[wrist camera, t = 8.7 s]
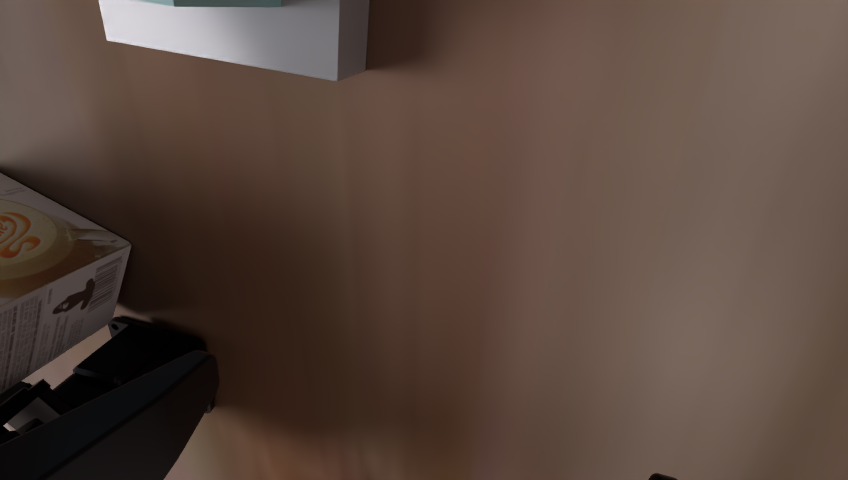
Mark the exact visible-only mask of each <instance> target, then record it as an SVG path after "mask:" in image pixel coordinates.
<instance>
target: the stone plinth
mask: <svg viewBox="0 0 848 480" xmlns="http://www.w3.org/2000/svg"><path fill="white" fill-rule="evenodd" d="M369 1H370V0H281V7H173V6H167V5H161V4H155V3H149V2H142V1H136V0H99V4H100V9H101V14H102V18H103V23H104V28H105V33H106V38H107V40H108V41H114V42H120V43H125V44H131V45H136V46H142V47H148V48H153V49H159V50H165V51H170V52H176V53H181V54H187V55H193V56H198V57H204V58H209V59H215V60H221V61H226V62H232V63H237V64H243V65H249V66H254V67H260V68H265V69H271V70H277V71H282V72H288V73H294V74H299V75H305V76H310V77H316V78H322V79H327V80H333V81H339V80H342V79H345V78H347V77H350V76H352V75H355V74H358V73H360V72H363V71H365V68H366V51H367V34H368V17H369Z"/></svg>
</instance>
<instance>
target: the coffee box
mask: <svg viewBox="0 0 848 480" xmlns="http://www.w3.org/2000/svg"><path fill="white" fill-rule="evenodd" d="M130 249H131V244H130V242H128V241H126V240H124V239H123V238H121V237H119V236H117V235H115V234H114V233H112V232H110V231H108V230H106V229H104V228H102V227H100V226H98V225H97V224H95V223H93V222H91V221H89V220H87V219H86V218H84V217H82V216H80V215H78V214H76V213H74V212H73V211H71V210H69V209H67V208H65V207H63V206H61V205H59V204H58V203H56V202H54V201H52V200H50V199H48V198H46V197H45V196H43V195H41V194H39V193H37V192H35V191H33V190H32V189H30V188H28V187H26V186H24V185H22V184H20V183H18V182H17V181H15V180H13V179H11V178H9V177H7V176H5V175H3V174H2V173H0V394H2V393H3V392H5V391H7V390H8V389H10V388H11V387H12V386H14V385H15V384H17V383H19V382H20V381H22V380H23V379H25V378H26V377H28V376H29V375H31V374H32V373H33V372H35V371H36V370H38V369H40V368H41V367H43V366H44V365H46V364H48V363H49V362H51V361H52V360H54V359H55V358H57V357H58V356H60V355H61V354H63V353H64V352H66V351H67V350H69V349H70V348H72V347H73V346H75V345H76V344H78V343H80V342H81V341H82V340H84V339H86V338H87V337H89V336H90V335H92V334H94V333H95V332H97V331H98V330H100V329H101V328H103V327H104V326H106V325H107V324H109V323H110V322H111V320H112V318H113V315H114V311H115V307H116V303H117V299H118V295H119V291H120V288H121V284H122V280H123V276H124V272H125V268H126V264H127V260H128V257H129V253H130Z"/></svg>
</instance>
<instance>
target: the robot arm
mask: <svg viewBox="0 0 848 480" xmlns="http://www.w3.org/2000/svg"><path fill="white" fill-rule="evenodd" d="M108 327H109V330H110V333H111V337H112V338H111V339H110V340H109V341H108V342H106V343H105V344H104V345H103V346H101V347H100V348H99V349H98V350H96V351H95V352H94V353H92V354H91V355H90V356H89V357H87V358H86V359H85V360H84V361H82V362H81V363H80V364H79V365H77V366H76V367H75V368H74V369H73V374H72V375H71V376H70V377H68V378H67V379H66V380H65V381H63V382H62V383H61V384H60V385H58V386H57V387H56V388H55V389H53V390H52V389H51V388H50V386H51V385H50V384H48V383H47V382H46V381H45V380H44V379H42V380H40V381H39V382H37V383H36V384H34V385H31V384H30V383H25V382H22V381H20V382H19V383H17V384H15V385H14V386H12V387H11V388H10V389H8V390H7V391H5V392H3V393H2V394H0V480H163V479H164V478H165V477H166V475H167V474H168V472H169V471H170V470H171V468H172V467H173V465H174V464H175V462H176V461H177V459H178V458H179V456H180V454H181V453H182V451H183V449H184V448H185V446H186V444H187V443H188V441H189V439H190V437H191V436H192V434H193V432H194V430H195V429H196V427H197V425H198V423H199V422H200V420H201V418H202V417H203V415H204V413H210V412H211V411H212V410H213V408H214V406H215V405H214V399H213V397H214V396H215V394H216V392H217V390H218V387H219V373H218V366H217V359H216V357H215V355H214V354H212V353H208V352H206V347H205V344H204V342H203V341H202V340H201V339H199V338H196V337H192V336H189V335H185V334H181V333H177V332H173V331H170V330H166V329H162V328H158V327H154V326H151V325H147V324H143V323H139V322H135V321H132V320H128V319H124V318H120V317H114V318H113V319H112V320H111V322H110V323H109V324H108ZM6 423H8V424H9V425H11V426H12V427H13V428H14V429H16V431H9V430H7V429H6V428H5V427H4V426H3V425H5V424H6ZM649 480H677V479H676V478H673V477H670V476H666V475H662V474H659V473H655V474H652V475H651V476H650V478H649Z"/></svg>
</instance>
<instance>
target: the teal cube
mask: <svg viewBox="0 0 848 480" xmlns="http://www.w3.org/2000/svg"><path fill="white" fill-rule="evenodd" d="M136 1H142V2H149V3H155V4H161V5H167V6H173V7H281V0H136Z"/></svg>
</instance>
